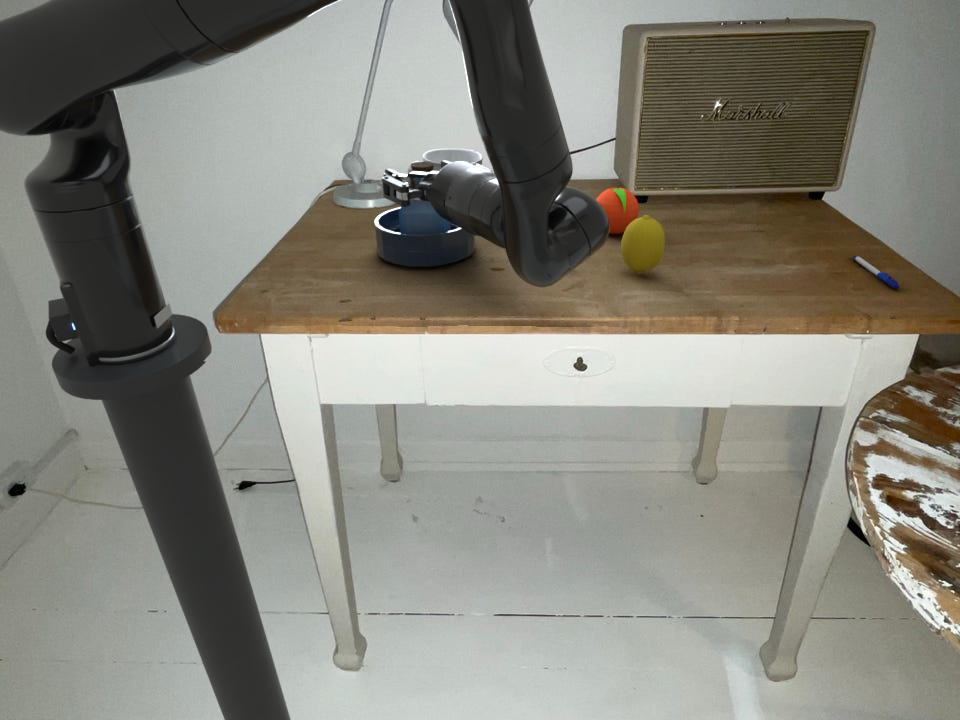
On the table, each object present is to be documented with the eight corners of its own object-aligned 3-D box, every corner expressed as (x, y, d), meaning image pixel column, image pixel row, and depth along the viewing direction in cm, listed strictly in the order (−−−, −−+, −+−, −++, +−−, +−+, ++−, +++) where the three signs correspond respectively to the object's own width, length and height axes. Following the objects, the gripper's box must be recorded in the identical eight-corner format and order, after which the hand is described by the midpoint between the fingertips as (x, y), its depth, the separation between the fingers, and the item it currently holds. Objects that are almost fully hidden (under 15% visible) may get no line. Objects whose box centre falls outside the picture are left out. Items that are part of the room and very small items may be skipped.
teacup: (473, 188, 121) (472, 145, 117) (491, 203, 112) (491, 157, 108) (402, 196, 118) (398, 152, 114) (415, 212, 109) (412, 165, 105)
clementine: (644, 241, 94) (650, 194, 91) (599, 243, 94) (603, 196, 90) (628, 224, 101) (633, 180, 98) (586, 226, 101) (589, 182, 97)
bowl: (403, 278, 84) (400, 242, 81) (362, 247, 94) (359, 214, 92) (493, 257, 90) (493, 223, 87) (446, 230, 100) (445, 198, 98)
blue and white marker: (901, 290, 78) (903, 282, 77) (893, 290, 78) (896, 282, 77) (855, 258, 87) (857, 252, 86) (849, 259, 87) (851, 252, 86)
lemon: (615, 266, 86) (621, 208, 82) (656, 266, 86) (663, 208, 82) (621, 282, 81) (628, 222, 77) (665, 282, 81) (673, 221, 77)
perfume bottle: (451, 241, 94) (448, 159, 88) (445, 256, 89) (441, 170, 83) (410, 240, 95) (404, 158, 89) (402, 255, 89) (395, 169, 83)
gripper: (524, 160, 77) (459, 138, 89) (419, 176, 71) (364, 150, 83) (523, 219, 81) (460, 191, 93) (423, 240, 75) (370, 206, 87)
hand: (415, 172), depth 88 cm, fingers open, 8 cm apart
